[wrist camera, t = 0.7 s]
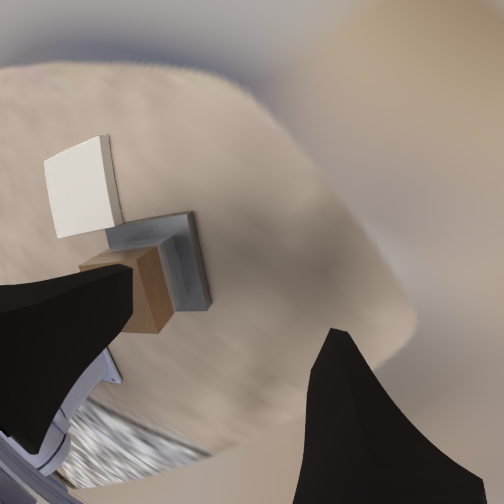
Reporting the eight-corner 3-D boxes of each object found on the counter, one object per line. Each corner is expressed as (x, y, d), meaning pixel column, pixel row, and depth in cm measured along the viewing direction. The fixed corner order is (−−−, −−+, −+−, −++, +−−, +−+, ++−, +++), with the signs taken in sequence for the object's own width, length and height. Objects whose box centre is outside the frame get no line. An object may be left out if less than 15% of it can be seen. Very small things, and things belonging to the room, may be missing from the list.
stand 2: (135, 305, 22) (128, 311, 21) (113, 224, 20) (104, 228, 19) (211, 302, 21) (207, 310, 20) (192, 211, 19) (186, 214, 18)
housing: (136, 297, 21) (101, 330, 16) (121, 242, 19) (78, 265, 15) (187, 295, 20) (158, 333, 15) (173, 235, 19) (136, 259, 14)
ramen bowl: (51, 462, 52) (40, 477, 44) (89, 495, 58) (81, 509, 50) (18, 441, 57) (8, 453, 49) (51, 475, 63) (43, 487, 55)
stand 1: (66, 234, 22) (57, 238, 20) (52, 160, 20) (43, 161, 18) (123, 223, 20) (114, 226, 19) (108, 135, 18) (99, 135, 17)
